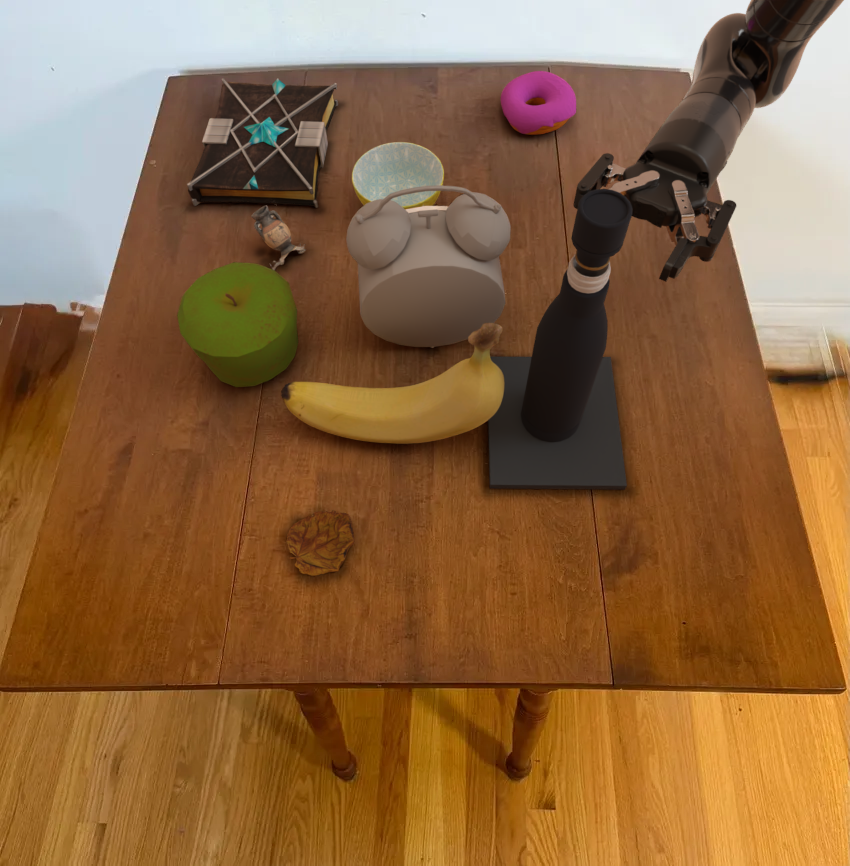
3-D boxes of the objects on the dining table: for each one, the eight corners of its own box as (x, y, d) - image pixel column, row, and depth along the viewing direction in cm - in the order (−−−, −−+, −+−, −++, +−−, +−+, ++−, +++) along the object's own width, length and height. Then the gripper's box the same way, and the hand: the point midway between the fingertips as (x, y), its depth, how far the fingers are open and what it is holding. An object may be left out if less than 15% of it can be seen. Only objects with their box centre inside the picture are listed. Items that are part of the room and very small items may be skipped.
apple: (272, 417, 79) (248, 359, 69) (180, 379, 82) (144, 318, 72) (326, 333, 85) (310, 268, 75) (238, 300, 87) (212, 233, 77)
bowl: (393, 257, 90) (390, 221, 85) (339, 207, 94) (333, 169, 89) (461, 214, 93) (463, 176, 88) (407, 167, 98) (404, 129, 92)
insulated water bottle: (531, 448, 76) (579, 249, 49) (512, 398, 79) (547, 185, 52) (589, 434, 76) (666, 230, 50) (568, 385, 79) (630, 167, 53)
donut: (494, 97, 104) (496, 68, 100) (563, 89, 105) (567, 60, 101) (508, 145, 99) (511, 117, 95) (580, 137, 100) (586, 108, 96)
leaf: (286, 519, 74) (281, 515, 72) (351, 505, 73) (347, 500, 72) (294, 581, 71) (289, 578, 70) (361, 566, 71) (357, 563, 69)
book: (227, 100, 105) (217, 68, 101) (340, 103, 104) (335, 71, 100) (192, 207, 95) (180, 177, 91) (318, 212, 94) (312, 182, 90)
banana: (286, 444, 78) (240, 334, 60) (297, 399, 80) (256, 280, 63) (495, 463, 76) (511, 355, 58) (498, 415, 79) (514, 299, 61)
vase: (249, 246, 91) (237, 211, 86) (286, 227, 93) (276, 191, 88) (271, 272, 89) (260, 238, 84) (308, 252, 91) (299, 217, 86)
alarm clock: (496, 296, 87) (510, 145, 67) (505, 355, 83) (524, 212, 63) (360, 306, 86) (336, 159, 67) (363, 366, 82) (338, 227, 63)
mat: (609, 361, 82) (610, 356, 81) (624, 489, 74) (627, 485, 73) (486, 361, 82) (486, 356, 81) (489, 488, 75) (490, 484, 74)
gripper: (632, 94, 71) (557, 196, 64) (773, 144, 67) (708, 258, 61) (616, 156, 77) (546, 254, 71) (743, 205, 73) (682, 313, 67)
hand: (621, 256), depth 66 cm, fingers open, 8 cm apart
